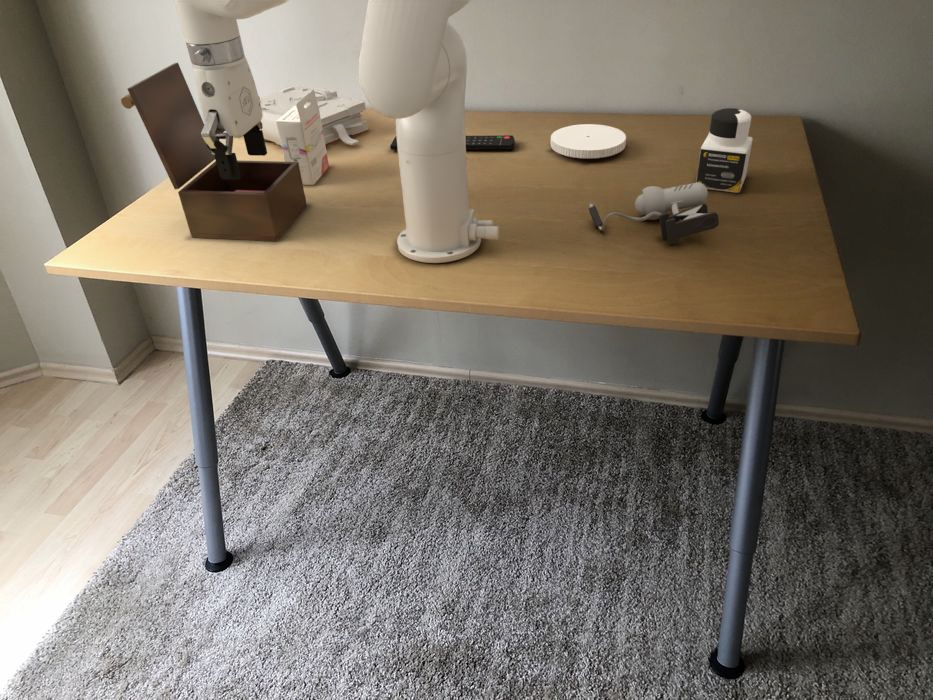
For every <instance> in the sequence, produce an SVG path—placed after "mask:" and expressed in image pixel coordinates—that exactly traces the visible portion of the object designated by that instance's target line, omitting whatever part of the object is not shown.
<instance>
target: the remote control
mask: <svg viewBox="0 0 933 700" xmlns="http://www.w3.org/2000/svg"><path fill="white" fill-rule="evenodd" d="M465 137H466V150H515V146H516V145H515V144H516V142H515V141H516V139H515V137H514V135H513V134H512V135H510V134H509V135H465ZM389 147H390V148H389V149H390V150H392V151H398V148H397V138H396V135H395V137H394V138H393V140H392V142H391V144H390V145H389Z"/></svg>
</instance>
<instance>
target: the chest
mask: <svg viewBox="0 0 933 700" xmlns="http://www.w3.org/2000/svg"><path fill="white" fill-rule="evenodd" d="M237 162H238V166H239V170H240V174H241V178H240V179H239V180H228V179H221V178H220V175H219V171H218V167H217V163H216V160H214V161H213V163H210V164H209V165H208V166H207V167H206V168H204V169H203V170H202V172H200V173H198V174H197V176H196V177H195V178H192V179H191V181H190V182H187V183H186V184H185V185H184V187H183V188H182V187H181V188H180V190H178V192H177V193H178V194H177V195H178V197H179V200H180V203H181V204H180V205H181V208H182V210H183V213H184V217H185V220H186V223H187V227H188V230H189V234H190V236H191V238H195V239H215V240H217V239H218V240H236V241H237V240H238V241H257V242H258V241H261V242H278V241H279V240H280V238H281V237H282V236H283V235H284V233H285V232H287V230H288V229H289V227H290V226H291V225H292V224H293V223H294V222H295V221H296V219H297V218H298V217H299V216H300V215H301V214H302V212H303V211H304V210H305V208H306V207H307V205H308V203H307V199H306V193H305V189H304V185H303V183H302V178H301V173H300V167H299V162H285V161H278V160H277V161H273V160H272V161H271V160H238V159H237ZM236 190H251V191H265V192H264V193H255V192H234V191H236Z"/></svg>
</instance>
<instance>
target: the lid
mask: <svg viewBox="0 0 933 700" xmlns="http://www.w3.org/2000/svg"><path fill="white" fill-rule="evenodd" d="M126 90H127V92H128V93H127V94H125V95H124V96H122V97H121V98H120V103H121V105H122V106H123V107H124V108H125V109H128V110H130V109H133V108H134V107H135V109H136V110H137V113H138V115H139V117H140V118H141V121H142V123H143V126H144V128H145V130H146V132H147V134H148V136H149V139H150V141H151V142H152V144H153V147H154V148H155V149H154V150H156V153H157V155H158V157H159V158H160V161H161V164H162V165H163V168H164V169H165V172H166V174H167V176H168V178H169V180H170V182H171V184H172V186H173V189H174V190H179V189H182V187H183V186H185V185H186V184H188V183H189V181H190V180H193V179H194V177H195V176H196V175H199V174H200V173H201V171H204V170H205V169H206V168H207V167H208V166H210V165H211V164H212V162H215V161H216V160H215V156H214V155H212V153H211V150H209V149H208V147H207V144H206V142H205V141H204V139H203V138H202V135H201V132H202V130H203V127H204V124H205V122H204V119H203V118H202V116H201V114H200V111H199V108H198V106H197V103H196V102H195V99H194V97H193V94H192V92H191V90H190V87H189V85H188V83H187V80H186V79H185V76H184V73H183V71H182V69H181V67H180V64H179V62H174V63H172V64H170V65H168V66H167V67H164V68H162V69H160V70H159V71H157V72H155V73H154V74H152V75H151V74H150V76H148V77H146V78H144V79H142V80H141V81H138V82H137V83H134V84H133V85H131V86H129V87H128V88H127V89H126Z"/></svg>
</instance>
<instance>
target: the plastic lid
mask: <svg viewBox="0 0 933 700" xmlns="http://www.w3.org/2000/svg"><path fill="white" fill-rule="evenodd" d="M626 146H627V135H626V133H625V132H624V131H622V130H621V129H619V128H616V127H613V126H611V125H604V124H597V123H587V124H586V123H584V124H583V123H581V124H574V125H573V124H572V125H568V126H567V125H566V126H564V127H561V128H559V129H556V130H555V131H553V132H552V133H551V135H550V148H551V149H552V150H553V151H554V152H555V153H557V154H559V155H562V156H565V157H570V158H573V159H574V158H577V159H588V160H589V159H600V158H607V157H612V156H614V155H617V154H619V153H621V152H622V151H624V150H625V148H626Z"/></svg>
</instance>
